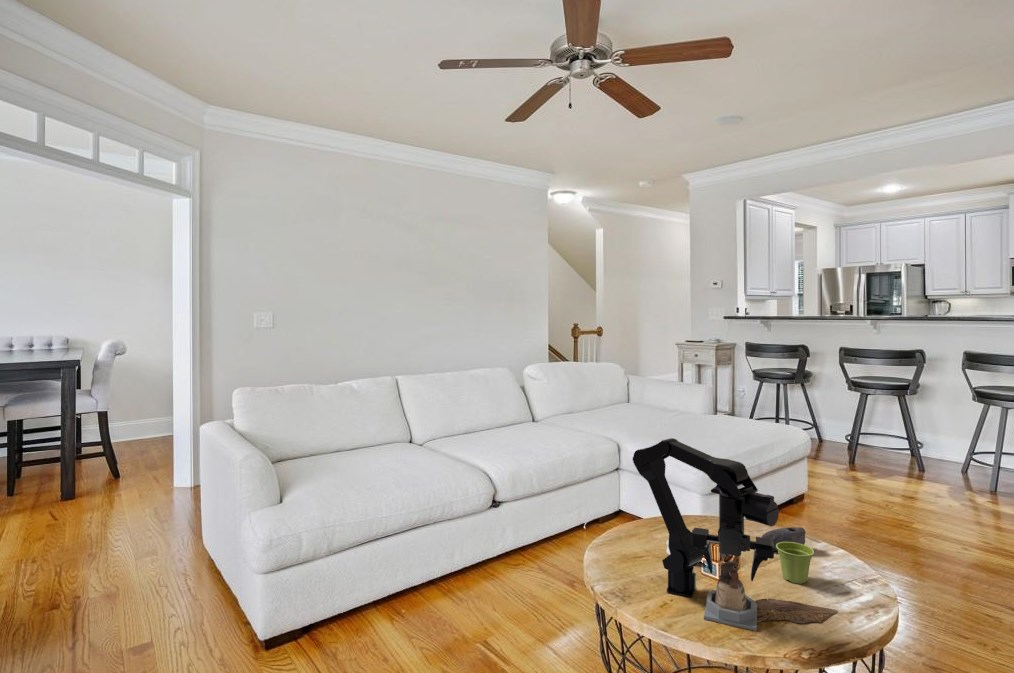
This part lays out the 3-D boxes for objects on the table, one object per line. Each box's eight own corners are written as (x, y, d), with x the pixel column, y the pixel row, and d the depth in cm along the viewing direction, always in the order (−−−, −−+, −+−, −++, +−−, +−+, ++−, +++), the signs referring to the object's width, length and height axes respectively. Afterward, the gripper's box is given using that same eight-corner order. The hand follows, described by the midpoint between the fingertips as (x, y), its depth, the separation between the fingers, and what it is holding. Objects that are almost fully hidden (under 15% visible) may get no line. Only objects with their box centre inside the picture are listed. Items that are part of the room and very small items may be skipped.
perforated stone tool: (764, 554, 164) (764, 531, 164) (755, 546, 169) (756, 525, 169) (811, 553, 164) (812, 531, 164) (802, 546, 169) (802, 524, 169)
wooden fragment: (740, 623, 127) (740, 618, 127) (725, 599, 138) (725, 595, 138) (852, 628, 124) (852, 623, 124) (828, 603, 135) (828, 599, 135)
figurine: (741, 602, 134) (741, 556, 133) (750, 618, 127) (751, 569, 126) (711, 601, 135) (712, 554, 134) (719, 616, 127) (720, 567, 127)
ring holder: (703, 619, 128) (703, 606, 128) (708, 596, 138) (708, 585, 138) (756, 631, 123) (756, 618, 123) (757, 606, 133) (757, 595, 133)
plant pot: (771, 569, 153) (771, 540, 153) (807, 572, 151) (807, 542, 151) (781, 585, 144) (781, 554, 144) (819, 588, 142) (819, 556, 142)
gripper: (687, 519, 127) (687, 583, 127) (774, 531, 119) (774, 600, 119) (693, 504, 137) (693, 564, 137) (773, 515, 129) (773, 578, 129)
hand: (731, 576), depth 130 cm, fingers open, 9 cm apart
